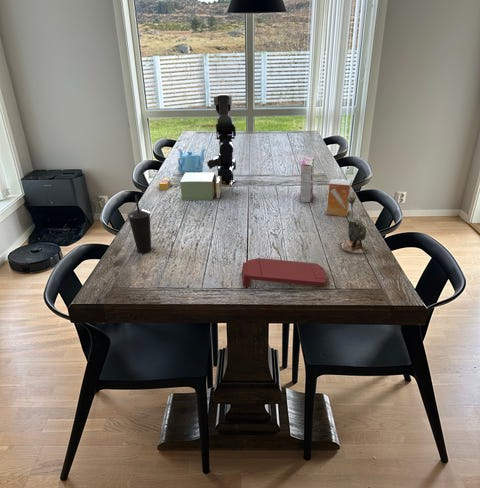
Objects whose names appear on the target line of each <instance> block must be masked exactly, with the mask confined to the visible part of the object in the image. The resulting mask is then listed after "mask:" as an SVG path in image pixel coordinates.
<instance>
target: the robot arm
mask: <svg viewBox="0 0 480 488" xmlns="http://www.w3.org/2000/svg"><path fill="white" fill-rule="evenodd" d="M232 106H233V96H231V95H229V94H227V93H225V94H218V95H215V96H214V97H213V107H214V108H215V111H216V113H217V115H218V117H217V119H216V120H217V121H216V122H217V123H215V135H216V140H217V141H218V149H219V150H218V151H219V152H218V153H217V155H216V156H214V157H212V158H209V159H207V160H206V164H207V165H206V166H207V167H208V168H209V170H211V169H213V168H215V167H216V169H217V177H218V176H221V181H225V183H222V185H229V183H230V181H231V180H232V181H233V183H236V181H235V180H234V171H235V170H236V169H237V160H236V159H235V157H234V146H233V140H236V137H237V131H236V130H237V129H236V125H235V123H234V122H233V118H232V117H231V116H230V112H231V109H232Z"/></svg>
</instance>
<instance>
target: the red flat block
mask: <svg viewBox="0 0 480 488" xmlns="http://www.w3.org/2000/svg"><path fill="white" fill-rule="evenodd" d="M241 267H242V268H241V273H240V275H241V283H242V287H245V288H250V287H251V281H259V282H260V281H261V282H270V283H281V284H293V285H302V286H315V287H325V286H326V284H327V283H328V276H327V274H326V271H325V270H324V267H323V266H321V265H320V264H319V263H316V262H305V261H294V260H283V259H275V258H263V257H262V258H261V257H255V258H252V259H247V260H246V261H245V262H242V266H241Z"/></svg>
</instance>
